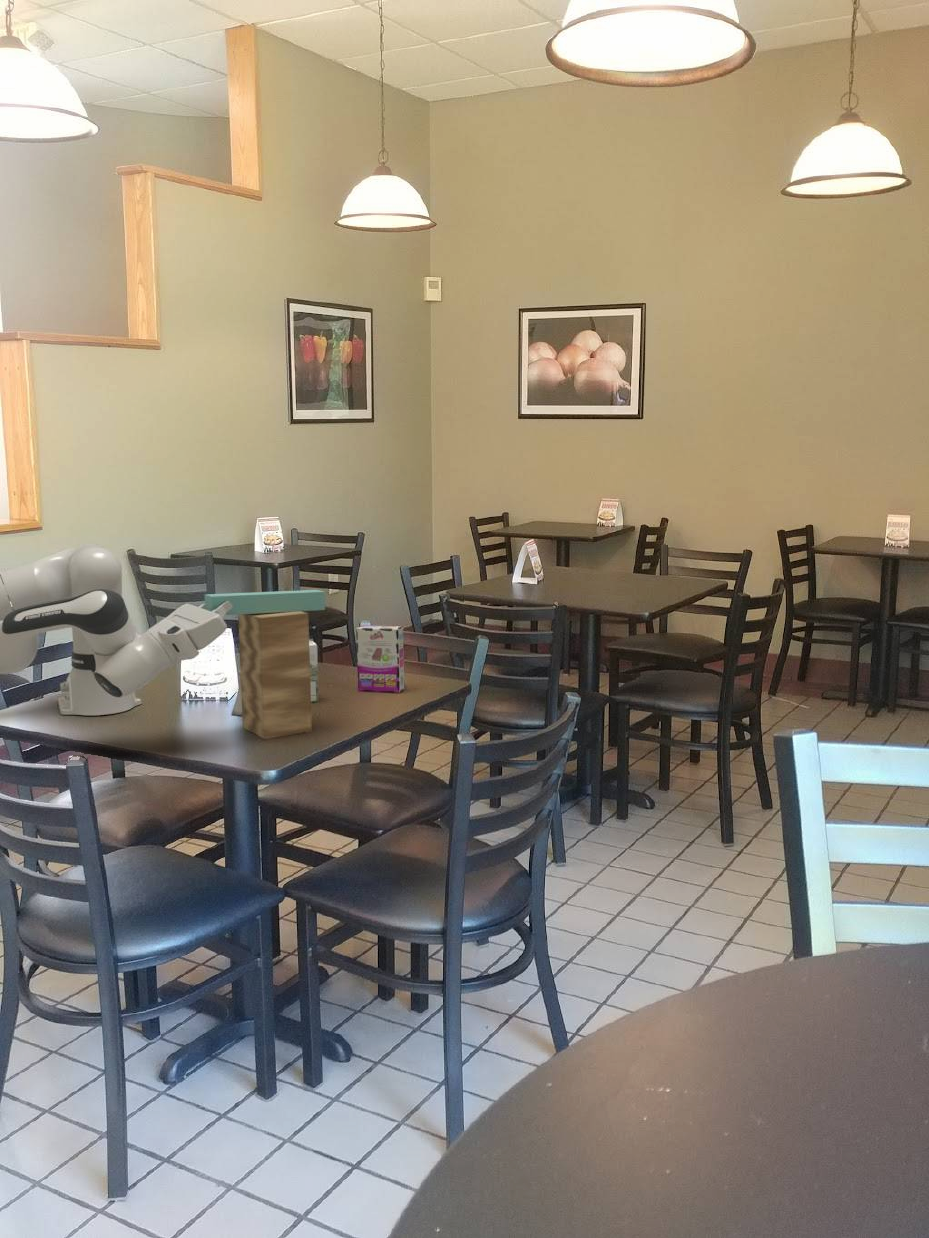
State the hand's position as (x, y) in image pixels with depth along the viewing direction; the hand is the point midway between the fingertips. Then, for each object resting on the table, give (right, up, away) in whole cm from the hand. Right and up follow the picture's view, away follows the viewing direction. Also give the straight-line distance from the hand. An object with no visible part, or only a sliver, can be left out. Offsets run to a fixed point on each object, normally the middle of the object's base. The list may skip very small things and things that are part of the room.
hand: (225, 601), depth 229 cm
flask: (0, -26, +26) cm, 36 cm away
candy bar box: (+29, -22, +48) cm, 60 cm away
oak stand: (+9, -28, +11) cm, 31 cm away
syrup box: (+11, -24, +37) cm, 45 cm away
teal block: (+8, -2, +5) cm, 10 cm away
